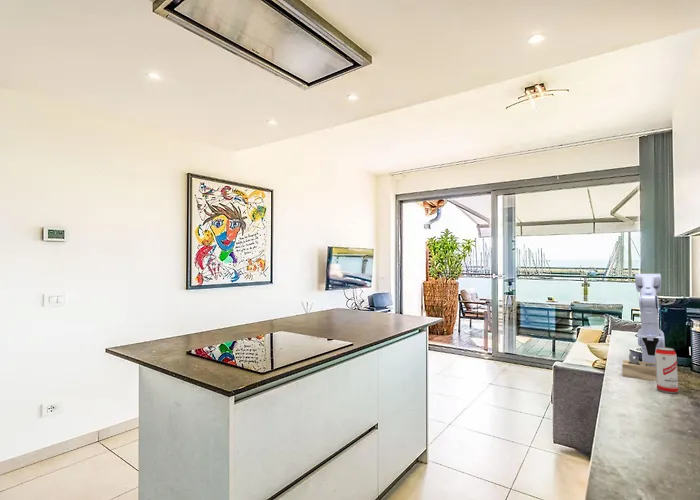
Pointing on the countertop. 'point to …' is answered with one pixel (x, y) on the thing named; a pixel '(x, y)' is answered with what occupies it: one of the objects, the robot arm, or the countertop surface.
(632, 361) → the peg
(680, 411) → the countertop surface
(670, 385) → the beer can
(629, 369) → the housing
